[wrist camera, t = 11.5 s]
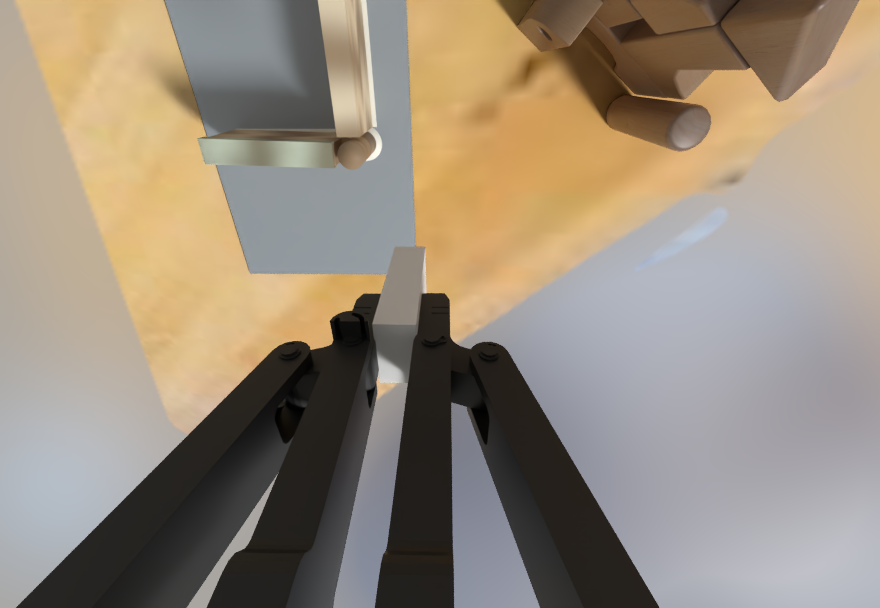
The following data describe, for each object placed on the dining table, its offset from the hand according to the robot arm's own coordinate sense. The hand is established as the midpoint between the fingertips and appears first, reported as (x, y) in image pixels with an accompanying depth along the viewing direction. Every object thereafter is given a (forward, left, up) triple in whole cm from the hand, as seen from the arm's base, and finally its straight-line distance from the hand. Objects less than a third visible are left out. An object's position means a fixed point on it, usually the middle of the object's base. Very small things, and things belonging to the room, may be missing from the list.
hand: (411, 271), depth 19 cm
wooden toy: (-10, +16, -27) cm, 33 cm away
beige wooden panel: (-9, -7, -26) cm, 29 cm away
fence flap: (-2, -15, -26) cm, 30 cm away
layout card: (-2, -13, -26) cm, 30 cm away
